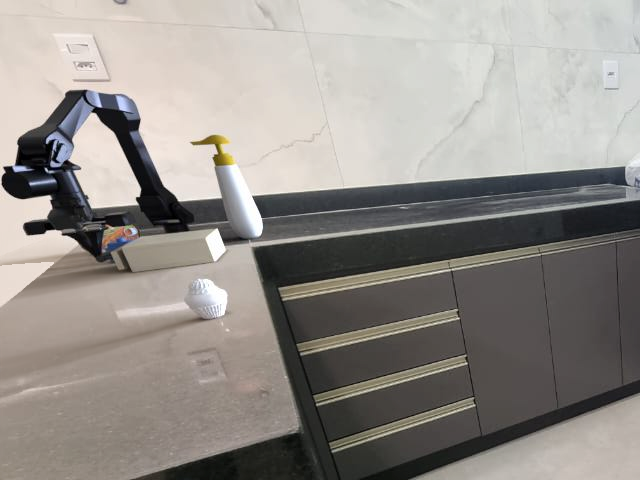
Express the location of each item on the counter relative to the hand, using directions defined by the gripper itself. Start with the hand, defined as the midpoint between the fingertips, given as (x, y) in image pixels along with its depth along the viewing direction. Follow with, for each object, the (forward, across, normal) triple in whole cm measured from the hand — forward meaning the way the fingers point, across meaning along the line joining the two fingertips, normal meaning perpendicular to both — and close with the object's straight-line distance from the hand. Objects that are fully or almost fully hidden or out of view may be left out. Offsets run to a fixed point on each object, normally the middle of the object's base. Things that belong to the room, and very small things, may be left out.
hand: (98, 258), depth 130 cm
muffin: (+3, +33, -59) cm, 68 cm away
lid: (+3, +2, +12) cm, 12 cm away
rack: (+2, +11, 0) cm, 11 cm away
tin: (+3, -6, +30) cm, 31 cm away
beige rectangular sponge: (+3, +16, 0) cm, 16 cm away
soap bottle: (+3, +27, +25) cm, 37 cm away
